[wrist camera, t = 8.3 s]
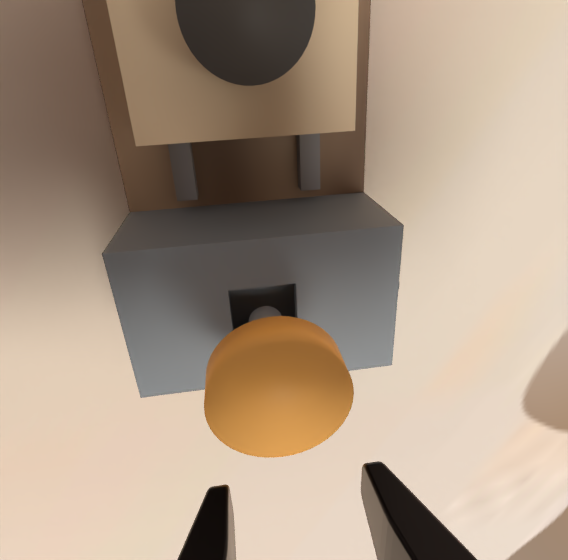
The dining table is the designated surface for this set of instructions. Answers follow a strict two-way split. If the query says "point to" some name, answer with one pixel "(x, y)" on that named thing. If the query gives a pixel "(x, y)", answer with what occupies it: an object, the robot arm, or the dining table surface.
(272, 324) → the gauge button
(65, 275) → the dining table surface
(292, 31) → the carriage
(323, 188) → the rail track
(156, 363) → the gray block
